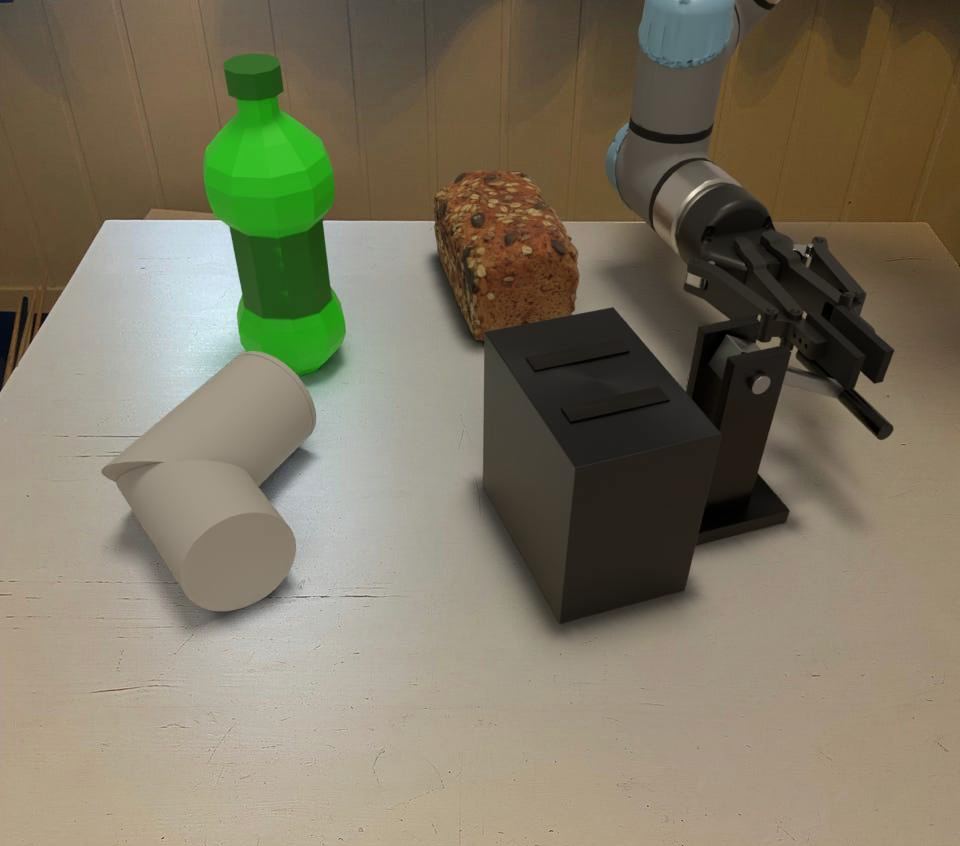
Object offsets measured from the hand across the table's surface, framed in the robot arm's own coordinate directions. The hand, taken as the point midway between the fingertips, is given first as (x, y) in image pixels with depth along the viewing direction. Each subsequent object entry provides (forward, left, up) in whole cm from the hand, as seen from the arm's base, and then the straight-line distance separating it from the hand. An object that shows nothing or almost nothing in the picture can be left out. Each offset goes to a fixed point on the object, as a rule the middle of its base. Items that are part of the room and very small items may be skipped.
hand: (869, 369), depth 71 cm
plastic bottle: (+45, -18, -11) cm, 50 cm away
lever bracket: (+10, +2, -11) cm, 15 cm away
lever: (+7, +1, -1) cm, 7 cm away
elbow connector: (+47, +3, -11) cm, 49 cm away
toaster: (+21, +6, -11) cm, 24 cm away
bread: (+26, -30, -11) cm, 41 cm away
